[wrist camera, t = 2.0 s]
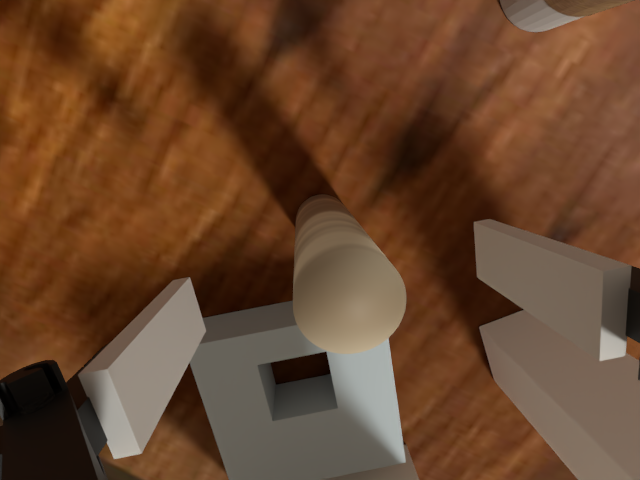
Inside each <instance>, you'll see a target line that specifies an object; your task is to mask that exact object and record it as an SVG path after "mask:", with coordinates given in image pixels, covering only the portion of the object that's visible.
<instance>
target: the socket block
mask: <svg viewBox="0 0 640 480" xmlns="http://www.w3.org/2000/svg"><path fill="white" fill-rule="evenodd" d="M202 319H203V322H204V325H205V328H206V332H205V334H204V336H203V338H202V340H201V342H200V343H199V345H198V347H197V349H196V351H195V353H194V355H193V357H192V359H191V361H190V366H191V368H192V371H193V374H194V377H195V380H196V383H197V386H198V389H199V392H200V395H201V398H202V401H203V404H204V407H205V410H206V413H207V416H208V419H209V422H210V425H211V428H212V431H213V434H214V437H215V440H216V443H217V445H218V448H219V451H220V454H221V457H222V460H223V463H224V466H225V469H226V472H227V475H228V478H229V480H322V479H327V478H332V477H337V476H342V475H347V474H352V473H357V472H362V471H367V470H372V469H377V468H382V467H387V466H392V465H397V464H402V463H406V460H405V453H404V446H403V438H402V431H401V424H400V417H399V410H398V403H397V396H396V389H395V382H394V375H393V367H392V360H391V353H390V346H389V339H386V340H385V341H384V342H382V343H381V344H379V345H378V346H376V347H374V348H372V349H370V350H367V351H364V352H360V353H354V354H339V353H333V352H329V351H326V350H324V349H322V348H320V347H318V346H316V345H314V344H313V343H312V342H310V341H309V340H308V339H307V338H306V337H305V336H304V335H303V333H302V332H301V330H300V329H299V327H298V325H297V323H296V321H295V317H294V313H293V301H288V302H283V303H278V304H272V305H267V306H262V307H257V308H252V309H247V310H241V311H236V312H231V313H226V314H221V315H216V316H210V317H205V318H202ZM322 352H327V357H328V362H329V366H330V371H331V374H328V375H323V376H318V377H313V378H308V379H303V380H298V381H292V382H287V383H282V384H277V385H276V383H275V379H274V375H273V371H272V367H271V362H276V361H281V360H286V359H291V358H296V357H301V356H306V355H311V354H317V353H322Z"/></svg>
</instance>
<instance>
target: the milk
mask: <svg viewBox="0 0 640 480" xmlns="http://www.w3.org/2000/svg"><path fill="white" fill-rule="evenodd" d="M479 330H480V333H481V337H482V340H483V344H484V347H485V351H486V354H487V358H488V361H489V365H490V368H491V372H492V375H493V379H494V381H495V382H496V383H497V384H498V386H499V387H500V388H501V389H502V390H503V391H504V393H505V394H506V395H507V396H508V397H509V399H510V400H511V401H512V402H513V403H514V404H515V406H516V407H517V408H518V409H519V410H520V412H521V413H522V414H523V415H524V416H525V417H526V419H527V420H528V421H529V422H530V423H531V425H532V426H533V427H534V428H535V429H536V430H537V432H538V433H539V434H540V435H541V436H542V438H543V439H544V440H545V441H546V442H547V443H548V445H549V446H550V447H551V448H552V449H553V450H554V452H555V453H556V454H557V455H558V456H559V458H560V459H561V460H562V461H563V462H564V463H565V465H566V466H567V467H568V468H569V469H570V471H571V472H572V473H573V474H574V475H575V476H576V478H577V479H578V480H640V380H638V372H639V361H638V360H637V359H635V358H634V357H632V356H630V355H629V354H627V353H626V356H623V357H618V358H613V359H608V360H603V361H598V360H597V359H596V358H594V357H593V356H591V355H590V354H588V353H587V352H585V351H584V350H582V349H581V348H579V347H578V346H577V345H575V344H574V343H572V342H571V341H569V340H568V339H566V338H565V337H563V336H562V335H560V334H559V333H557V332H556V331H555V330H553V329H552V328H550V327H549V326H547V325H546V324H544V323H543V322H541V321H540V320H538V319H537V318H535V317H534V316H533V315H531V314H530V313H528V312H527V311H525V310H522V311H519V312H516V313H514V314H511V315H509V316H506V317H503V318H501V319H498V320H495V321H493V322H490V323H487V324H485V325H482V326H480V327H479Z"/></svg>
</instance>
